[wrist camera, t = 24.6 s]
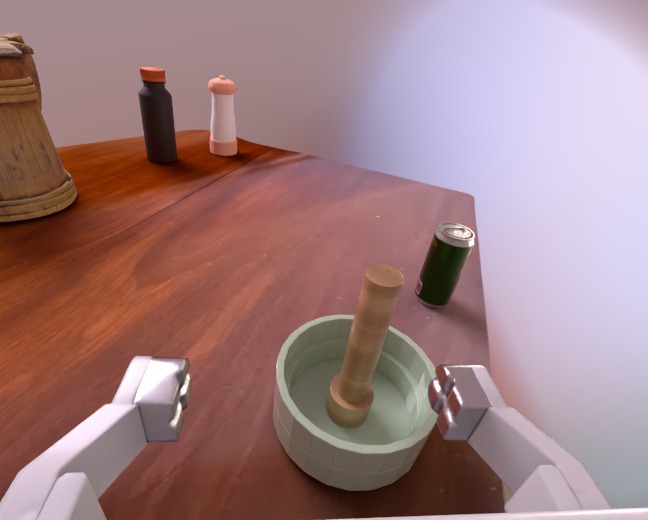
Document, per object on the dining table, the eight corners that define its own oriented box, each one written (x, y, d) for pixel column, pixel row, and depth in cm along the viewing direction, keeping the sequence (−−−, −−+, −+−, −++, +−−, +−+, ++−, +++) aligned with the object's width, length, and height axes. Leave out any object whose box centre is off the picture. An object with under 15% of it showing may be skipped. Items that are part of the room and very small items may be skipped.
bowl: (399, 531, 29) (422, 493, 25) (240, 439, 33) (241, 395, 29) (434, 390, 41) (453, 351, 37) (314, 336, 45) (321, 297, 42)
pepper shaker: (213, 146, 102) (210, 71, 92) (238, 149, 103) (239, 75, 92) (207, 153, 96) (204, 75, 86) (234, 157, 97) (234, 79, 86)
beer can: (420, 309, 53) (446, 239, 46) (408, 286, 57) (431, 220, 51) (453, 310, 54) (484, 242, 47) (439, 287, 58) (465, 222, 52)
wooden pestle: (359, 436, 34) (405, 301, 25) (318, 415, 35) (347, 278, 26) (373, 401, 38) (418, 271, 28) (336, 383, 39) (367, 253, 30)
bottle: (182, 158, 91) (175, 70, 80) (166, 165, 85) (156, 72, 74) (159, 152, 92) (148, 65, 81) (141, 159, 86) (127, 67, 75)
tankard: (-90, 222, 53) (-200, 24, 40) (9, 168, 73) (-42, 23, 59) (44, 231, 56) (-17, 49, 43) (105, 177, 76) (76, 40, 62)
